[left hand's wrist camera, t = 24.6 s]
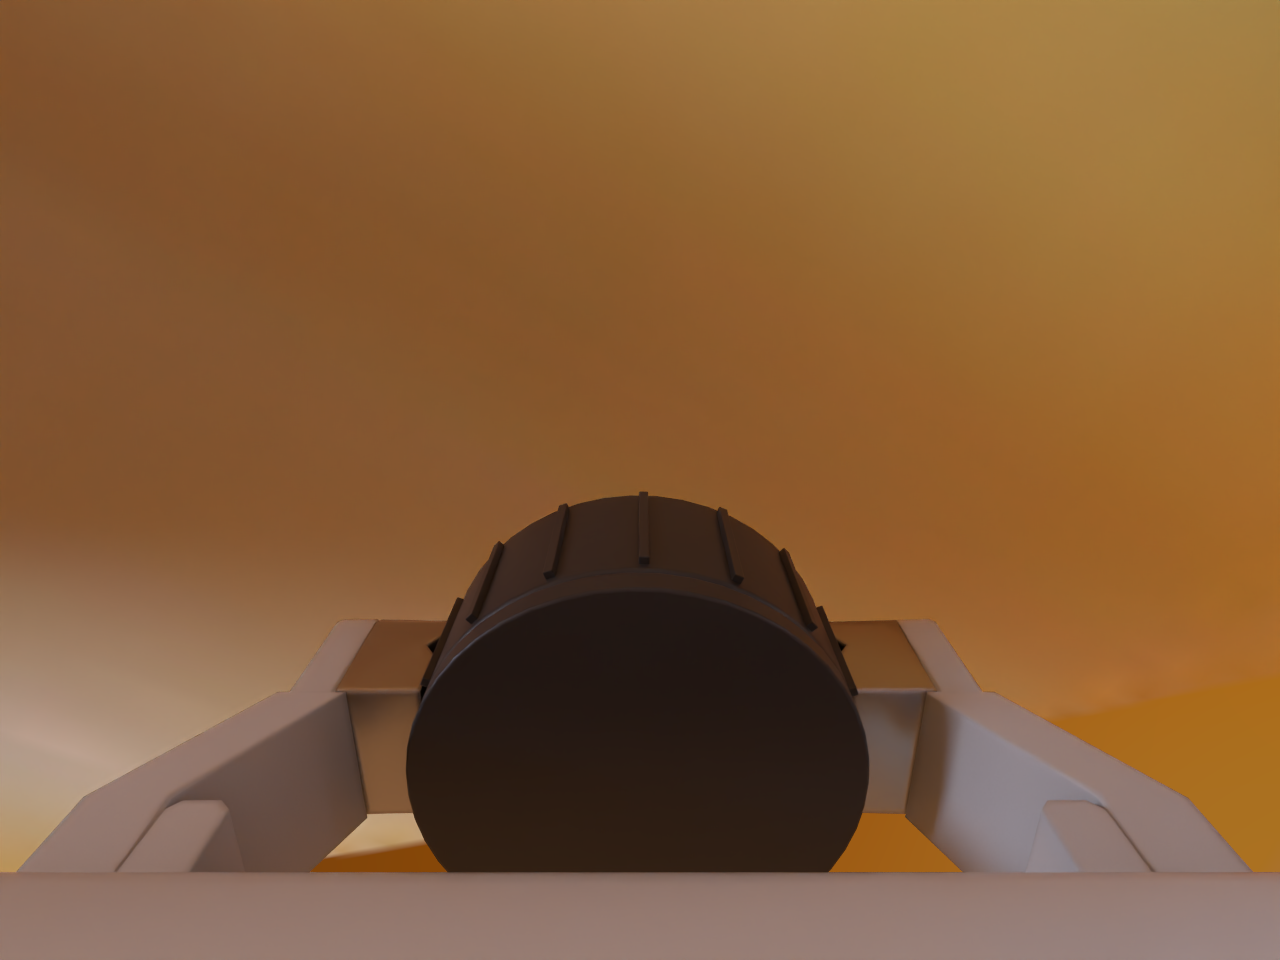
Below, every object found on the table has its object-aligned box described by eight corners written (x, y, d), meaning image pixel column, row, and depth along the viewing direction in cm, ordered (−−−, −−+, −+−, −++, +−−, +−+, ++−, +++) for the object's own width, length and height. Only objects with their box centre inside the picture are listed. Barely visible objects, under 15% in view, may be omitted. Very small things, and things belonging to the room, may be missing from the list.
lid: (586, 852, 12) (573, 1007, 10) (374, 610, 10) (301, 731, 8) (887, 708, 11) (950, 846, 9) (704, 415, 9) (724, 493, 7)
